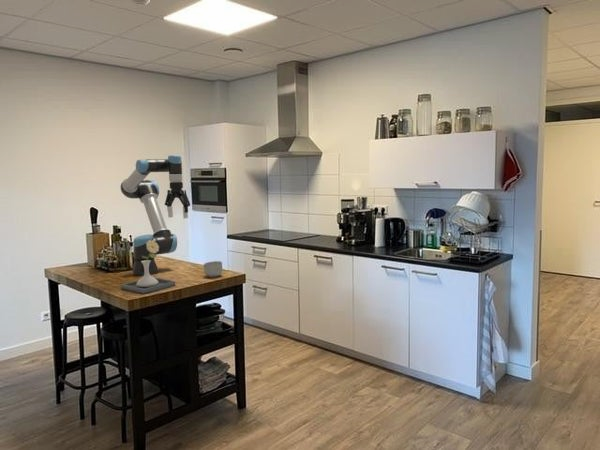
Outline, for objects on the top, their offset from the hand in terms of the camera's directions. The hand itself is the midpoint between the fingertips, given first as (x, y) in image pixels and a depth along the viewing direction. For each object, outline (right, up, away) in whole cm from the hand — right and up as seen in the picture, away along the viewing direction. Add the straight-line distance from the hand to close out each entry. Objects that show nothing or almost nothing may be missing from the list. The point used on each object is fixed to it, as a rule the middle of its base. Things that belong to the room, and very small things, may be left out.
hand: (178, 217), depth 273 cm
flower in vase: (-9, -38, -24) cm, 45 cm away
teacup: (+21, -35, +2) cm, 41 cm away
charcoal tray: (-10, -38, -24) cm, 46 cm away
